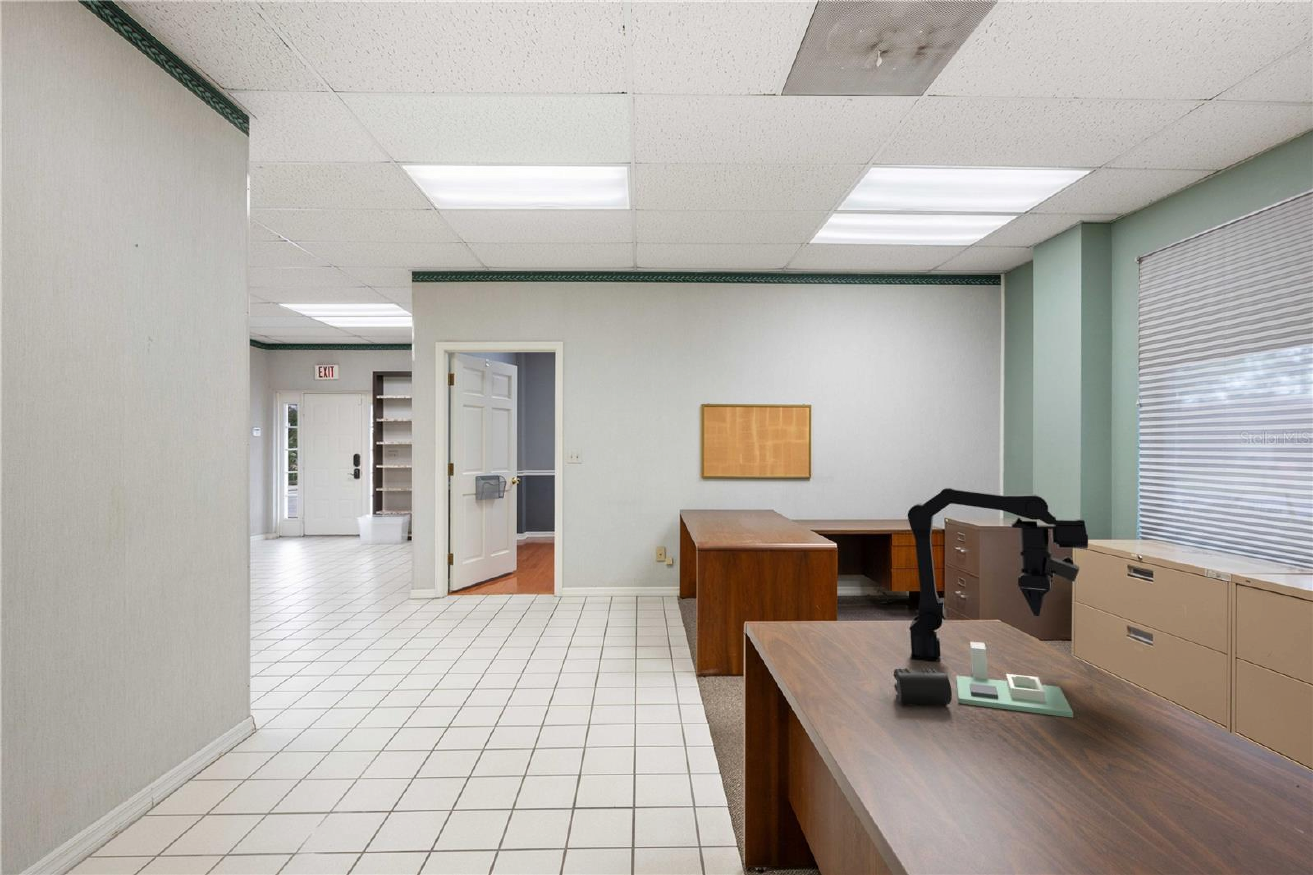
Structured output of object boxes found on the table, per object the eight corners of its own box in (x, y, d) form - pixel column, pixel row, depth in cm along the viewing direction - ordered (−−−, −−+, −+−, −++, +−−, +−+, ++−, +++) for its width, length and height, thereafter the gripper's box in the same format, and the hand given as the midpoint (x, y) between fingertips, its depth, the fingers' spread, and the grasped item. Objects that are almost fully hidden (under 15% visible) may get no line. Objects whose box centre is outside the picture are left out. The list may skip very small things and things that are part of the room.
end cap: (902, 711, 120) (900, 677, 120) (893, 697, 127) (891, 665, 127) (953, 712, 118) (951, 678, 119) (941, 698, 125) (939, 666, 126)
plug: (973, 678, 136) (971, 647, 136) (971, 669, 141) (969, 640, 141) (987, 679, 134) (985, 649, 135) (985, 671, 140) (984, 642, 140)
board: (958, 703, 122) (957, 688, 122) (956, 680, 135) (955, 666, 135) (1073, 717, 114) (1072, 702, 114) (1059, 691, 126) (1058, 677, 126)
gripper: (1075, 554, 128) (1079, 626, 127) (1076, 544, 143) (1079, 607, 142) (1016, 551, 135) (1019, 619, 134) (1023, 541, 150) (1026, 602, 149)
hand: (1038, 611), depth 140 cm, fingers open, 9 cm apart
